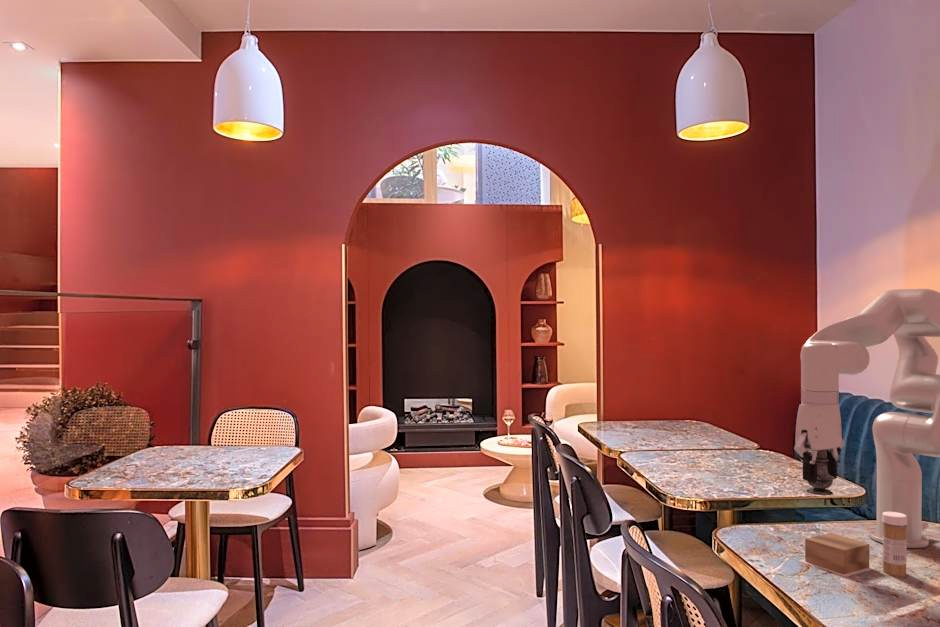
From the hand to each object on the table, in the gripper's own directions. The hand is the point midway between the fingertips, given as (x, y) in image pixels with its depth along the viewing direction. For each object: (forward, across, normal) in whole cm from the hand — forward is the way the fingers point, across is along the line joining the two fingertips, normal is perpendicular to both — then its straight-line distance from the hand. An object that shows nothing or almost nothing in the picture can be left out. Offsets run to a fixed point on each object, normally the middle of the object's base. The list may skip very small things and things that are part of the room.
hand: (819, 478), depth 158 cm
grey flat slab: (+19, 0, +4) cm, 19 cm away
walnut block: (+18, -1, +4) cm, 18 cm away
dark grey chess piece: (+3, 0, 0) cm, 3 cm away
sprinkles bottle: (+19, -7, +12) cm, 24 cm away
